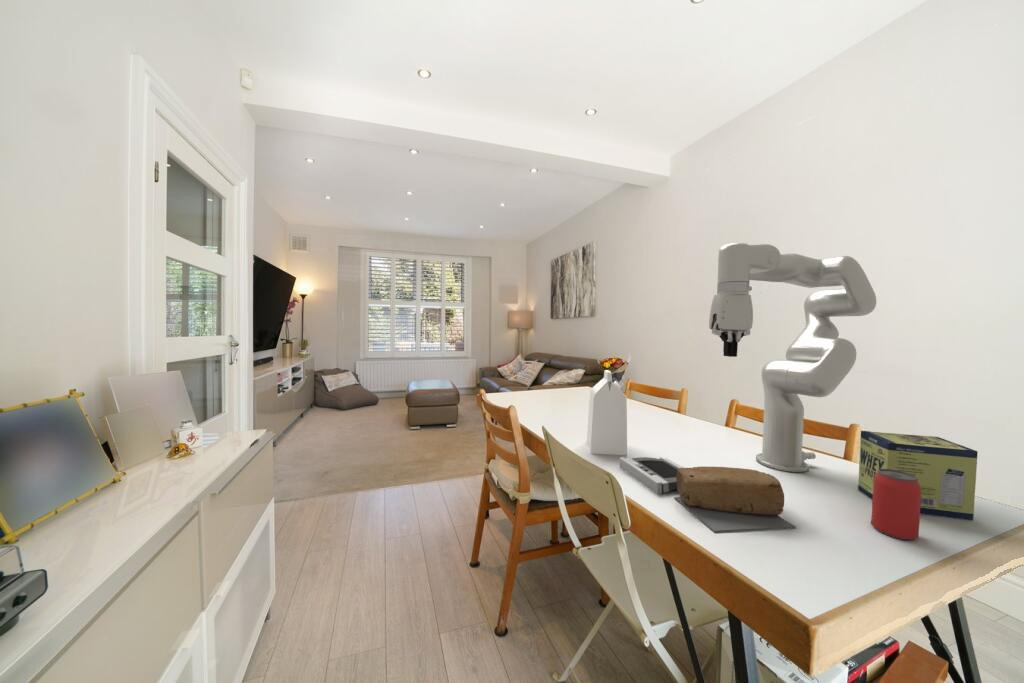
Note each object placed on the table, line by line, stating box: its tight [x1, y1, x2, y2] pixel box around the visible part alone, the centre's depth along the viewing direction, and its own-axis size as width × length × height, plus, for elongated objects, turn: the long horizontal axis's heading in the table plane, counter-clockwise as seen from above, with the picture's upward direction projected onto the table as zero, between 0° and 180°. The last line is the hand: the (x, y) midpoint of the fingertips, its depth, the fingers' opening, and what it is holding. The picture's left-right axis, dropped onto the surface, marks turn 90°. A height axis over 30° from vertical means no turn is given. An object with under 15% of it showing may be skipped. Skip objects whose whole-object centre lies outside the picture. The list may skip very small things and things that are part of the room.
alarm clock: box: [619, 456, 684, 495], centre depth 97 cm, size 17×5×16 cm
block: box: [676, 466, 785, 516], centre depth 82 cm, size 11×8×20 cm
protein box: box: [857, 430, 979, 521], centre depth 84 cm, size 10×16×16 cm
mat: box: [674, 496, 797, 533], centre depth 79 cm, size 18×14×1 cm
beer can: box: [870, 469, 921, 541], centre depth 72 cm, size 7×7×12 cm
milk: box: [586, 369, 628, 456], centre depth 120 cm, size 12×12×26 cm
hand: (730, 356), depth 99 cm, fingers closed
